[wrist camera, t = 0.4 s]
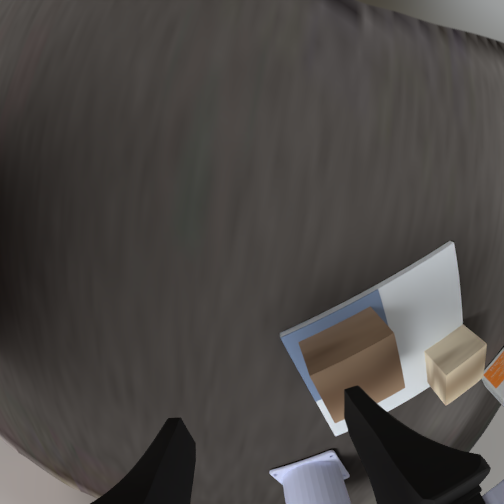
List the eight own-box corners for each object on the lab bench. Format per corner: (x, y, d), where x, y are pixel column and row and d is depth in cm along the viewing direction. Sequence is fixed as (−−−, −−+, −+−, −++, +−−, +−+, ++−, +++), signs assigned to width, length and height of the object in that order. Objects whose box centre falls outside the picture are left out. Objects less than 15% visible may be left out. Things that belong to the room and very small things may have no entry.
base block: (385, 359, 21) (405, 387, 18) (322, 390, 22) (334, 423, 18) (370, 306, 20) (394, 332, 16) (298, 342, 20) (309, 376, 16)
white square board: (460, 360, 23) (463, 363, 23) (334, 432, 25) (335, 437, 24) (449, 240, 20) (454, 242, 19) (279, 333, 21) (280, 338, 20)
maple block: (463, 357, 23) (483, 377, 19) (427, 382, 23) (445, 405, 19) (462, 324, 21) (486, 343, 17) (424, 351, 22) (446, 375, 18)
